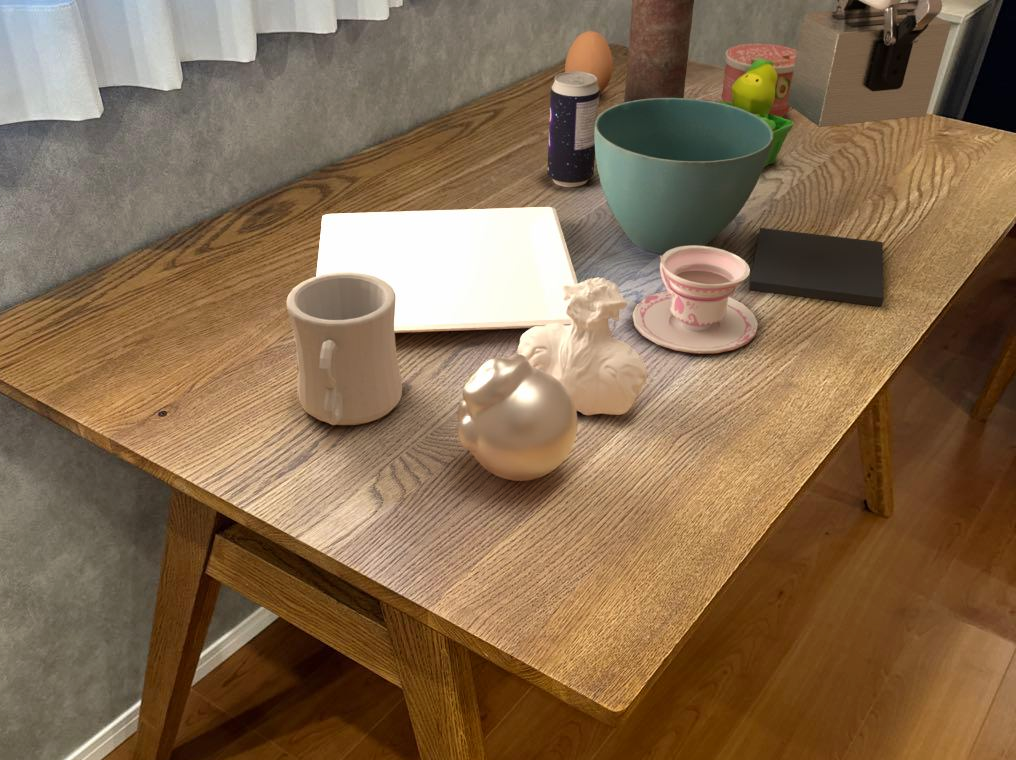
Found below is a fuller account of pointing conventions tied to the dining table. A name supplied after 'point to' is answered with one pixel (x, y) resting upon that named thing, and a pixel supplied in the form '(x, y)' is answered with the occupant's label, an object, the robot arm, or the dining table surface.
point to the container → (779, 55)
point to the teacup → (697, 302)
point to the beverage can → (572, 128)
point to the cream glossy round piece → (516, 419)
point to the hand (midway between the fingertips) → (863, 74)
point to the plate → (457, 265)
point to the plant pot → (678, 167)
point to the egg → (591, 57)
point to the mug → (345, 347)
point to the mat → (818, 267)
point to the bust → (588, 351)
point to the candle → (658, 49)
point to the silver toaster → (859, 69)
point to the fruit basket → (761, 101)
